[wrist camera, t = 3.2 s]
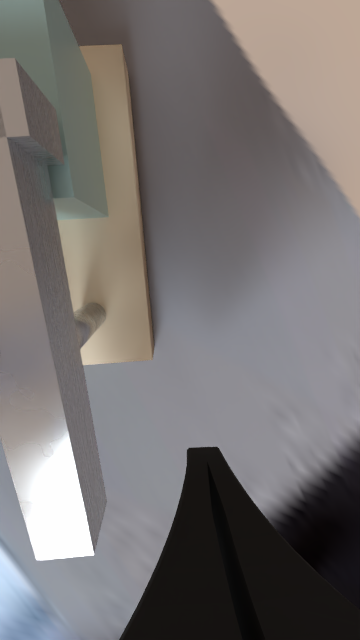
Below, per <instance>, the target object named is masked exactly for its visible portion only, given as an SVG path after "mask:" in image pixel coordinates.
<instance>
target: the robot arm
mask: <svg viewBox="0 0 360 640" xmlns="http://www.w3.org/2000/svg"><path fill="white" fill-rule="evenodd" d="M120 640H360V610H359V609H358V608H357V607H356V606H354V605H353V604H352V603H351V602H350V601H348V600H347V599H346V598H345V597H344V596H342V595H341V594H340V593H339V592H338V591H337V590H336V589H335V588H334V587H332V586H331V585H330V584H329V583H328V582H327V581H326V580H325V579H324V578H323V577H321V576H320V575H319V574H318V573H317V572H316V571H315V570H314V569H313V568H312V567H311V566H310V565H309V564H308V563H307V562H306V561H305V560H304V559H303V558H302V557H301V556H300V555H299V554H298V553H297V552H296V551H295V550H294V549H293V548H292V547H291V546H290V545H289V544H288V542H287V541H286V540H285V539H284V538H283V537H282V536H281V535H280V534H279V533H278V531H277V530H276V529H275V528H274V527H273V526H272V525H271V523H270V522H269V521H268V520H267V519H266V517H265V516H264V515H263V514H262V512H261V511H260V510H259V509H258V507H257V506H256V505H255V503H254V502H253V501H252V499H251V498H250V497H249V495H248V494H247V493H246V491H245V490H244V488H243V487H242V485H241V484H240V482H239V481H238V480H237V478H236V477H235V475H234V473H233V472H232V470H231V469H230V467H229V465H228V464H227V462H226V460H225V459H224V457H223V455H222V453H221V451H220V449H219V448H218V447H199V448H189V449H188V450H187V468H186V474H185V479H184V484H183V489H182V493H181V497H180V501H179V504H178V508H177V511H176V515H175V518H174V521H173V524H172V527H171V530H170V532H169V535H168V538H167V541H166V543H165V546H164V548H163V551H162V553H161V556H160V558H159V561H158V563H157V565H156V568H155V570H154V572H153V574H152V576H151V578H150V581H149V583H148V585H147V587H146V589H145V591H144V593H143V596H142V598H141V600H140V602H139V604H138V606H137V608H136V609H135V611H134V613H133V615H132V617H131V619H130V621H129V623H128V624H127V626H126V628H125V630H124V632H123V634H122V636H121V638H120Z"/></svg>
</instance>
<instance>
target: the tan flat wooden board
mask: <svg viewBox="0 0 360 640" xmlns="http://www.w3.org/2000/svg"><path fill="white" fill-rule="evenodd" d="M79 48H80V50H81V53H82V55H83V57H84V59H85V62H86V64H87V66H88V69H89V71H90V73H91V80H92V88H93V96H94V104H95V112H96V120H97V127H98V135H99V143H100V151H101V159H102V167H103V175H104V183H105V191H106V199H107V206H108V214H109V217H103V218H86V219H70V220H57V222H58V227H59V233H60V239H61V244H62V250H63V256H64V261H65V267H66V273H67V278H68V284H69V290H70V295H71V301H72V307H73V312H75V311H76V310H78V309H79V308H81V307H82V306H84V305H86V304H87V303H91V302H93V303H98V304H100V305H101V306H102V307H103V308H104V309H105V311H106V320H105V322H104V323H103V324H102V325H101V326H100V328H99V329H98V330H97V331H96V332H95V333H94V334H93V335H92V336H91V338H90V339H89V340H88V341H87V342H86V343H85V344H84V345H83V347H82V348H81V349H80V352H81V357H82V363H83V365H91V364H105V363H118V362H131V361H144V360H153V353H154V339H153V329H152V318H151V308H150V297H149V287H148V276H147V266H146V255H145V244H144V234H143V223H142V213H141V202H140V192H139V181H138V170H137V160H136V149H135V139H134V128H133V118H132V107H131V97H130V86H129V75H128V71H127V66H126V62H125V57H124V53H123V48H122V44H118V45H93V46H79Z"/></svg>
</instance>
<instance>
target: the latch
mask: <svg viewBox="0 0 360 640" xmlns="http://www.w3.org/2000/svg"><path fill="white" fill-rule="evenodd" d="M59 165H65V164H64V158H63V151H62V145H61V139H60V133H59V127H58V120H57V114H56V109H55V108H54V107H53V105H52V104H51V103H50V102H49V100H48V99H47V98H46V97H45V95H44V94H43V93H42V92H41V90H40V89H39V88H38V87H37V85H36V84H35V83H34V81H33V80H32V79H31V78H30V76H29V75H28V74H27V73H26V71H25V70H24V69H23V68H22V66H21V65H20V64H19V63H18V61H17V60H16V59H15V58H2V59H0V438H1V441H2V445H3V448H4V452H5V455H6V458H7V462H8V465H9V469H10V472H11V475H12V479H13V482H14V486H15V489H16V492H17V496H18V499H19V503H20V506H21V509H22V513H23V516H24V520H25V523H26V526H27V530H28V533H29V537H30V540H31V544H32V547H33V550H34V554H35V557H36V561H37V560H48V559H58V558H68V557H79V556H89V555H94V553H95V549H96V545H97V540H98V536H99V532H100V528H101V524H102V520H103V516H104V512H105V507H106V503H107V499H106V493H105V487H104V482H103V476H102V470H101V465H100V459H99V453H98V448H97V442H96V437H95V431H94V425H93V420H92V414H91V408H90V403H89V397H88V391H87V386H86V380H85V374H84V369H83V363H82V357H81V352H80V349H81V348H82V347H83V345H84V344H85V343H86V342H87V341H88V340H89V339H90V338H91V336H92V335H93V334H94V333H95V332H96V331H97V330H98V329H99V328H100V326H101V325H102V324H103V323H104V322H105V320H106V311H105V309H104V308H103V307H102V306H101V305H100V304H98V303H93V302H91V303H87V304H86V305H84V306H82V307H81V308H79V309H78V310H76V311H75V312H73V307H72V301H71V295H70V290H69V284H68V278H67V273H66V267H65V261H64V256H63V250H62V244H61V239H60V233H59V227H58V222H57V216H56V210H55V205H54V199H53V193H52V188H51V182H50V176H49V171H48V166H59Z"/></svg>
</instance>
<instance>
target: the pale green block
mask: <svg viewBox="0 0 360 640" xmlns="http://www.w3.org/2000/svg"><path fill="white" fill-rule="evenodd" d="M2 58H15V59H16V60H17V61H18V63H19V64H20V65H21V66H22V68H23V69H24V70H25V71H26V73H27V74H28V75H29V76H30V78H31V79H32V80H33V81H34V83H35V84H36V85H37V87H38V88H39V89H40V90H41V92H42V93H43V94H44V95H45V97H46V98H47V99H48V100H49V102H50V103H51V104H52V105H53V107H54V108H55V109H56V114H57V120H58V127H59V133H60V139H61V145H62V151H63V158H64V164H65V165H59V166H48V171H49V176H50V182H51V188H52V193H53V199H54V205H55V210H56V216H57V220H70V219H86V218H103V217H109V214H108V206H107V199H106V191H105V183H104V175H103V167H102V159H101V151H100V143H99V135H98V127H97V120H96V112H95V104H94V96H93V88H92V80H91V73H90V71H89V69H88V66H87V64H86V62H85V59H84V57H83V55H82V53H81V50H80V48H79V46H78V43H77V41H76V39H75V36H74V34H73V32H72V30H71V27H70V25H69V23H68V20H67V18H66V16H65V13H64V11H63V9H62V7H61V4H60V2H59V0H0V59H2Z"/></svg>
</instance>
